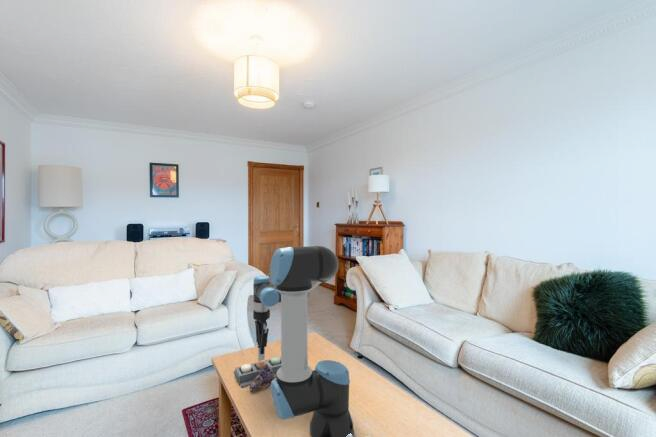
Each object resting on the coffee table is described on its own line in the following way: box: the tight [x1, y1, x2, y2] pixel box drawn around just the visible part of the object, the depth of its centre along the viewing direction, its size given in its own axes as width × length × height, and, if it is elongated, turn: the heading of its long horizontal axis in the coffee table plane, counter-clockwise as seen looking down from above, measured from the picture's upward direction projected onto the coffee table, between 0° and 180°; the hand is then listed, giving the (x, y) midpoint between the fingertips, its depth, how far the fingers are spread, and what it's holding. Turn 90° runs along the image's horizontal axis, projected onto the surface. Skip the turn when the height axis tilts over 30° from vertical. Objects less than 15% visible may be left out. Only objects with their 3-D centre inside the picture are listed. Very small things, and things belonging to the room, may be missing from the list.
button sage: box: [270, 356, 280, 366], centre depth 145 cm, size 4×4×2 cm
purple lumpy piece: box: [248, 367, 275, 393], centre depth 131 cm, size 12×8×6 cm, turn 138°
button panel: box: [233, 356, 281, 389], centre depth 141 cm, size 14×22×4 cm, turn 120°
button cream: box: [240, 363, 251, 374], centre depth 138 cm, size 4×4×2 cm
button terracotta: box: [255, 360, 266, 370], centre depth 141 cm, size 4×4×2 cm
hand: (261, 359), depth 141 cm, fingers closed
